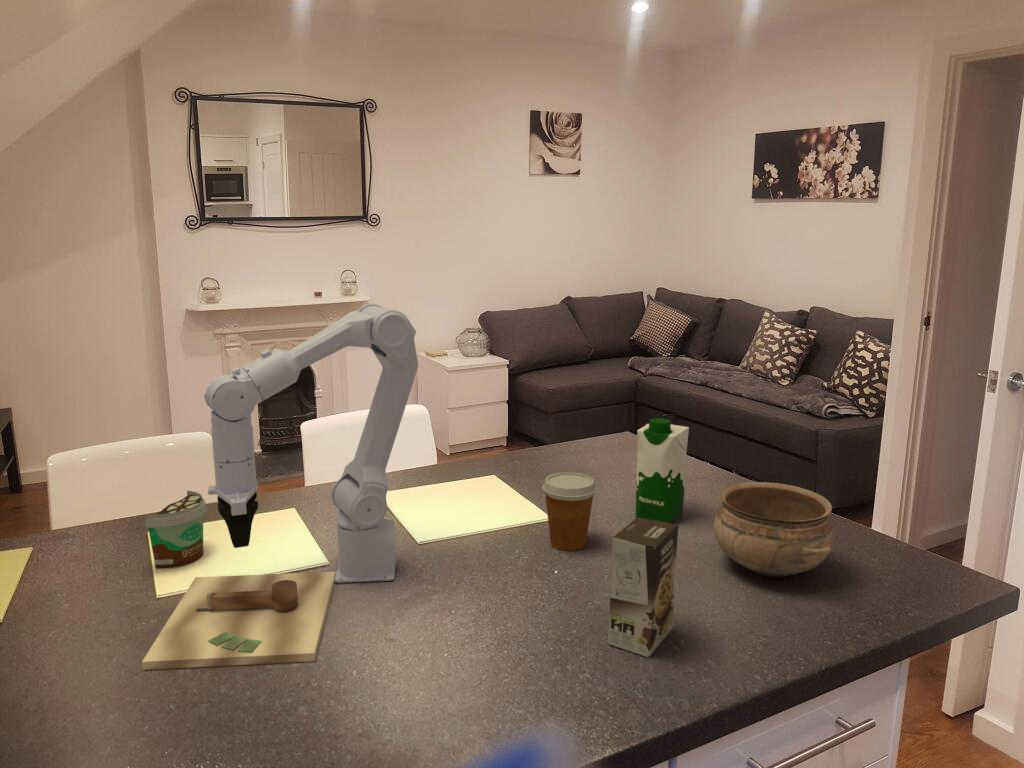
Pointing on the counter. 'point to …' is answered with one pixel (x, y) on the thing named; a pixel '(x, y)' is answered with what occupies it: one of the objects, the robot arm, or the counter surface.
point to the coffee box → (642, 585)
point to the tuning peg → (257, 598)
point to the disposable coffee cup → (568, 509)
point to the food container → (178, 532)
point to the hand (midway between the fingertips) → (240, 543)
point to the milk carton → (661, 470)
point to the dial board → (243, 625)
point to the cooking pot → (774, 527)
